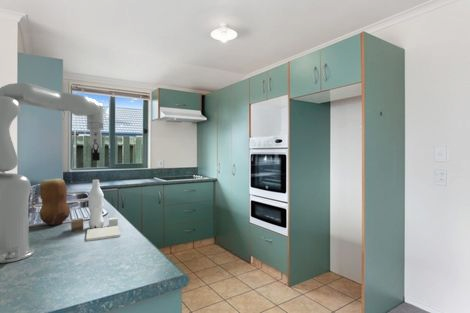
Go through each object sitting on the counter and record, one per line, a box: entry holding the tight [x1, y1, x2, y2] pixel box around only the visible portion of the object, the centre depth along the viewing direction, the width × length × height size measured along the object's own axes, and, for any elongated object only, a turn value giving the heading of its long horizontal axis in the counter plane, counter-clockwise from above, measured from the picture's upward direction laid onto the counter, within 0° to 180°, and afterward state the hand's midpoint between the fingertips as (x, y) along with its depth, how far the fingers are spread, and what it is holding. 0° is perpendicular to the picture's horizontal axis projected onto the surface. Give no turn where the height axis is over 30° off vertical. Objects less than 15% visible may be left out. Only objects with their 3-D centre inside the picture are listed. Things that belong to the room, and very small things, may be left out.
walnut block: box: [70, 218, 84, 233], centre depth 136 cm, size 5×5×5 cm
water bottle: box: [87, 179, 105, 229], centre depth 140 cm, size 7×7×25 cm
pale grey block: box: [108, 217, 119, 227], centre depth 144 cm, size 4×4×4 cm
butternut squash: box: [39, 178, 71, 226], centre depth 146 cm, size 14×13×25 cm
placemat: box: [85, 225, 121, 242], centre depth 130 cm, size 16×14×1 cm
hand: (96, 160), depth 139 cm, fingers open, 9 cm apart
